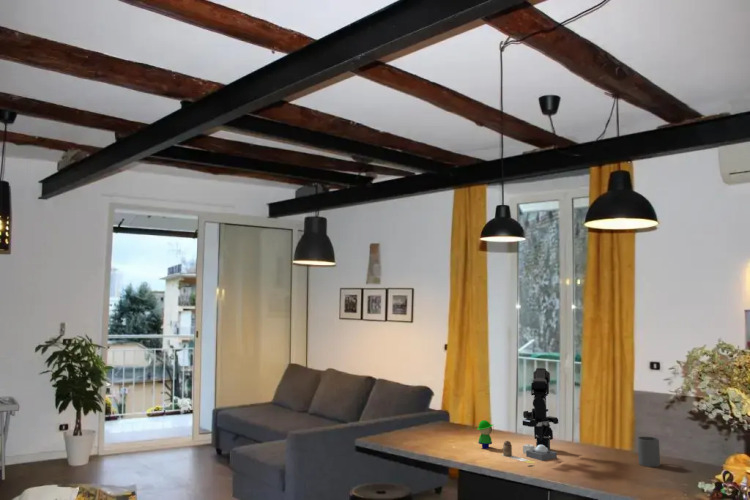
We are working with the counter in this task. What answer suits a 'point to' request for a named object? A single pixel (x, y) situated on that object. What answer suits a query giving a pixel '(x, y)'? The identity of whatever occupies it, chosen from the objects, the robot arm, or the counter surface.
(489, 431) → the toy
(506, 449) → the pawn
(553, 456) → the base
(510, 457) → the board
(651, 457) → the mug
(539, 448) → the dome
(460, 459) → the counter surface
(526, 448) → the die
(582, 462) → the counter surface
